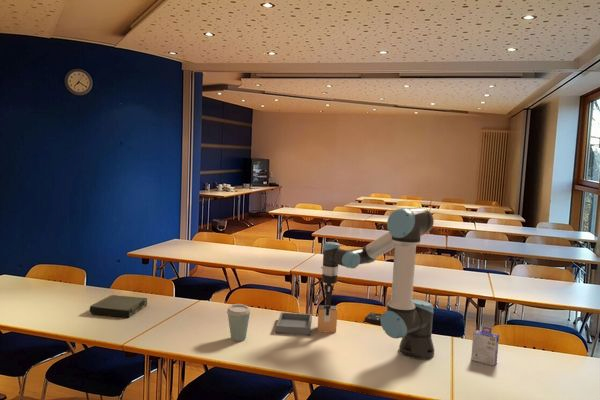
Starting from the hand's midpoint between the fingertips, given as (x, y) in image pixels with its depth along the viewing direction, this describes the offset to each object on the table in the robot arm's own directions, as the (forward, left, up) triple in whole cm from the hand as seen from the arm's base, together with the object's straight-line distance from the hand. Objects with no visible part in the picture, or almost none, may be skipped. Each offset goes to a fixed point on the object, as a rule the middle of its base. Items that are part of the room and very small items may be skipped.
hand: (327, 316), depth 236 cm
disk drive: (+18, -28, -7) cm, 34 cm away
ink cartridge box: (-24, -68, -7) cm, 73 cm away
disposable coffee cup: (-20, +40, -7) cm, 45 cm away
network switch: (+7, +108, -7) cm, 108 cm away
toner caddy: (0, 0, -7) cm, 7 cm away
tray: (+1, +16, -7) cm, 17 cm away
